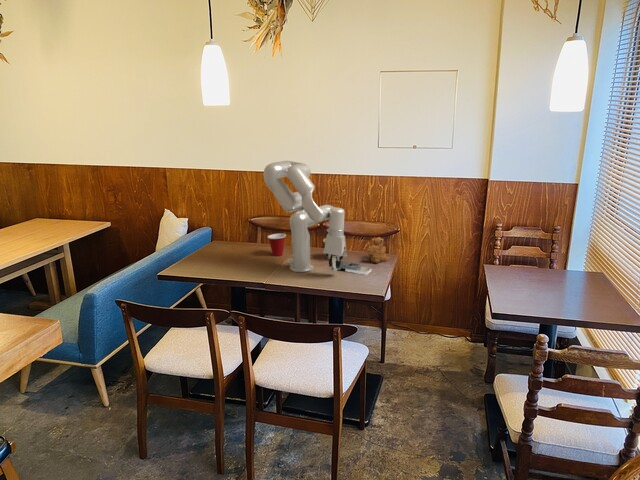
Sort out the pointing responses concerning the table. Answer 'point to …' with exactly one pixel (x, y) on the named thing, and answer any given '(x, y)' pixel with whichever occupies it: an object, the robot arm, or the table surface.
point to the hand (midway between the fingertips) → (334, 266)
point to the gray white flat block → (354, 268)
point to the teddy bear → (377, 251)
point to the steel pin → (334, 263)
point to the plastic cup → (277, 243)
